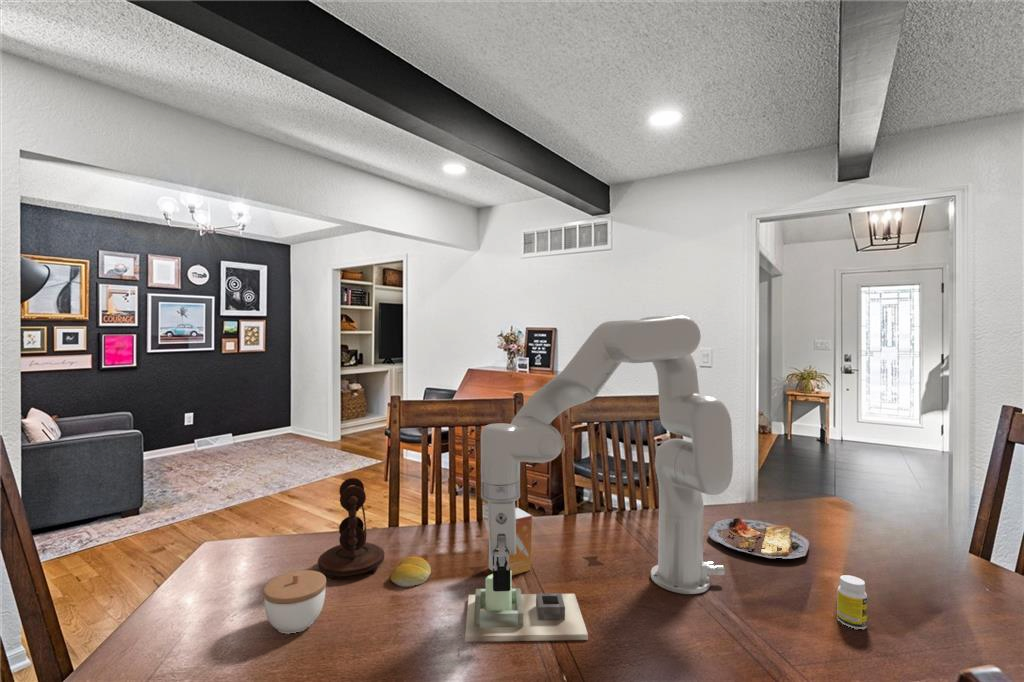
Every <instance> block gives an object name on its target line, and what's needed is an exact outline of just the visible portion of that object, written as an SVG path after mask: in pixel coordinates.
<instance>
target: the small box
mask: <svg viewBox="0 0 1024 682" xmlns="http://www.w3.org/2000/svg"><path fill="white" fill-rule="evenodd" d="M515 511H516V554H515V555H513V554H510V553H509V568H510V570H511V571H512V576H515V575H518V574H519V575H520V574H522V573H525V572H530V571H531V570H532V569H531V568H532V567H531V566H532V565H531V564H532V527H533V525H532V524H533V523H532V522H533V515H532V514H530V513H528V512H526V511H524V510H522V509H521V508H519V507H515ZM493 568H494V566H493V555H492V554H491V552H490V543H489V542H488V569H489V570H490V571H492V572H493ZM529 570H530V571H529Z"/></svg>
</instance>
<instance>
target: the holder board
mask: <svg viewBox="0 0 1024 682" xmlns="http://www.w3.org/2000/svg"><path fill="white" fill-rule="evenodd" d="M467 598H468V601H467V612H466V622H465V623H466V624H465V633H464V634H465V635H464V637H465V640H464V642H466V643H467V642H469V643H471V642H476V643H477V642H522V641H523V642H524V641H525V642H531V641H534V642H537V641H539V642H540V641H543V642H544V641H584V640H585V641H588V640H589V634H588V630H587V627H586V624H585V621H584V618H583V615H582V613H581V608H580V605H579V603H578V600H577V597H576V594H575V593H561V592H558V593H557V592H555V593H554V592H553V593H552V592H551V593H550V592H549V593H548V592H547V593H545V592H543V593H540V592H539V593H537V592H536V593H522V590H521V588H513V587H512V611H485V588H475V593H474V594H468V597H467Z"/></svg>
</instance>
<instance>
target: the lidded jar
mask: <svg viewBox="0 0 1024 682" xmlns="http://www.w3.org/2000/svg"><path fill="white" fill-rule="evenodd" d="M326 586H327V578H326V576H325V574H324V573H323V572H321V571H316V570H309V569H306V570H305V569H304V570H302V569H301V570H296V571H295V570H294V571H290V572H286V573H284V574H280V575H279V576H277V577H274V578H273V579H271V580H270V581H268V582H267V583H266V585H265V586H264V588H263V598H264V599H263V601H264V603H263V604H264V613H265V615H266V618H267V620H268V623H269V624H270V625H271V626H272V627H274V629H276V630H277V631H278V633H280V632H281V633H280V634H282V633H288V634H287V635H290V634H289V633H295V634H297V633H296V632H299V631H302V630H304V629H306V628H307V627H309V626H310V625H311V624H312V625H313V623H314V622H315V620H316V619H318V618H319V615H320V614H321V613H322V610H323V607H324V603H325V599H326V590H327V589H326ZM312 625H311V626H312ZM311 626H310V627H311ZM310 627H309V628H310ZM306 630H307V629H306ZM304 631H305V630H304ZM302 632H303V631H302ZM299 633H300V632H299Z"/></svg>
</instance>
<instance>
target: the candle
mask: <svg viewBox="0 0 1024 682" xmlns="http://www.w3.org/2000/svg"><path fill="white" fill-rule="evenodd" d="M512 577H513V575H512V571H511V570H510V585H511V589H510V591H493V573H491V574H489V575H487V576H486V577H485V579H484V580H485V581H484V582H485V583H484V585H485V588H484V589H485V611H512V589H513V587H512Z"/></svg>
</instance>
